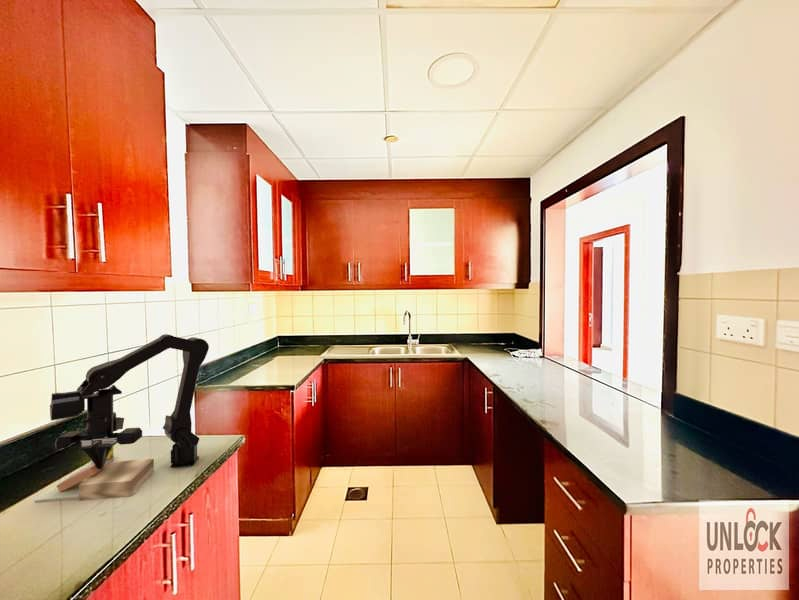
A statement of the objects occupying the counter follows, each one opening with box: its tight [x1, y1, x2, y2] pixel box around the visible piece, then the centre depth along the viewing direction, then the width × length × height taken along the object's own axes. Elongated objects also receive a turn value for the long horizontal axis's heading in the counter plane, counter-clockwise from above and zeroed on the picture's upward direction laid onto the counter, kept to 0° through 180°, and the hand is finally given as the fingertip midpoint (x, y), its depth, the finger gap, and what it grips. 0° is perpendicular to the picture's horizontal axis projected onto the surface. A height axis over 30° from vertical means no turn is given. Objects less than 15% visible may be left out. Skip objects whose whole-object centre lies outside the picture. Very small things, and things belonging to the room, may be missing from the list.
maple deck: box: [78, 458, 155, 501], centre depth 108 cm, size 12×14×4 cm
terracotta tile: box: [56, 463, 107, 492], centre depth 106 cm, size 9×6×2 cm, turn 101°
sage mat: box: [34, 477, 86, 503], centre depth 106 cm, size 10×12×1 cm
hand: (100, 468), depth 107 cm, fingers closed
